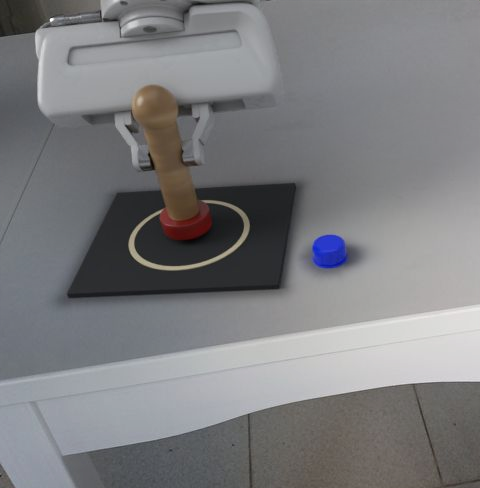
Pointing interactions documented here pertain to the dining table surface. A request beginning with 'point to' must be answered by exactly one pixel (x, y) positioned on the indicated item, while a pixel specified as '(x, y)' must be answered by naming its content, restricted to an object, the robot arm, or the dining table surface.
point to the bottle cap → (329, 251)
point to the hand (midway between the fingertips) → (169, 167)
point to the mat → (189, 245)
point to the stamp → (170, 164)
